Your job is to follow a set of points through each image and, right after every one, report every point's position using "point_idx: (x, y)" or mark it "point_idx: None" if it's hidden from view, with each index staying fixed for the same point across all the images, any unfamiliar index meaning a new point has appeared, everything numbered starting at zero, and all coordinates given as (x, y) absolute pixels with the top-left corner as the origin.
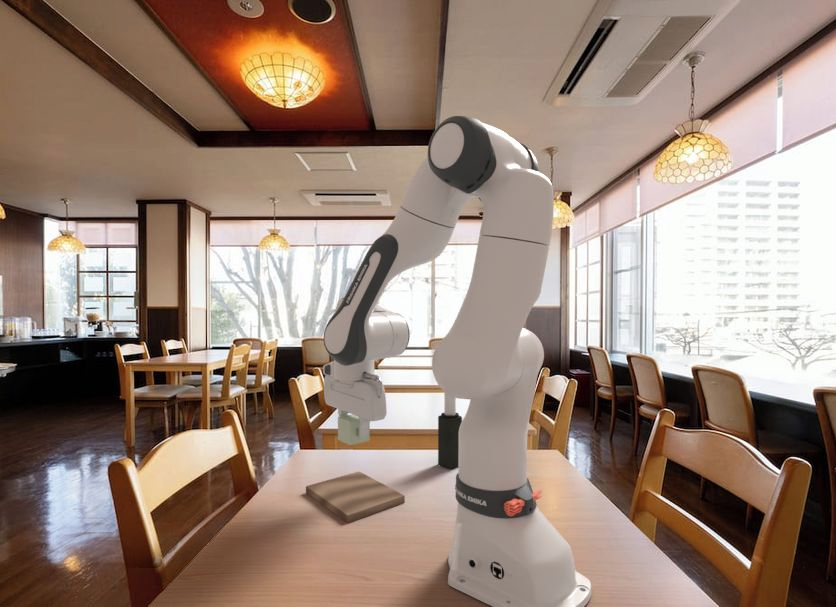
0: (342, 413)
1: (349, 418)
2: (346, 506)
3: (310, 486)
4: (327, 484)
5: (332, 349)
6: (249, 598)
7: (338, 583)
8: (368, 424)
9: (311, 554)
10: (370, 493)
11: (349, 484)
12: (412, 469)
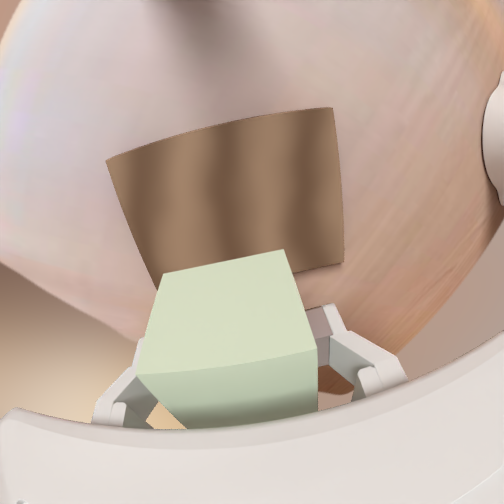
0: (150, 426)
1: (252, 419)
2: (308, 253)
3: None
4: (166, 258)
5: None
6: None
7: (435, 296)
8: (372, 346)
9: (377, 313)
10: (272, 179)
11: (186, 210)
12: (126, 4)
